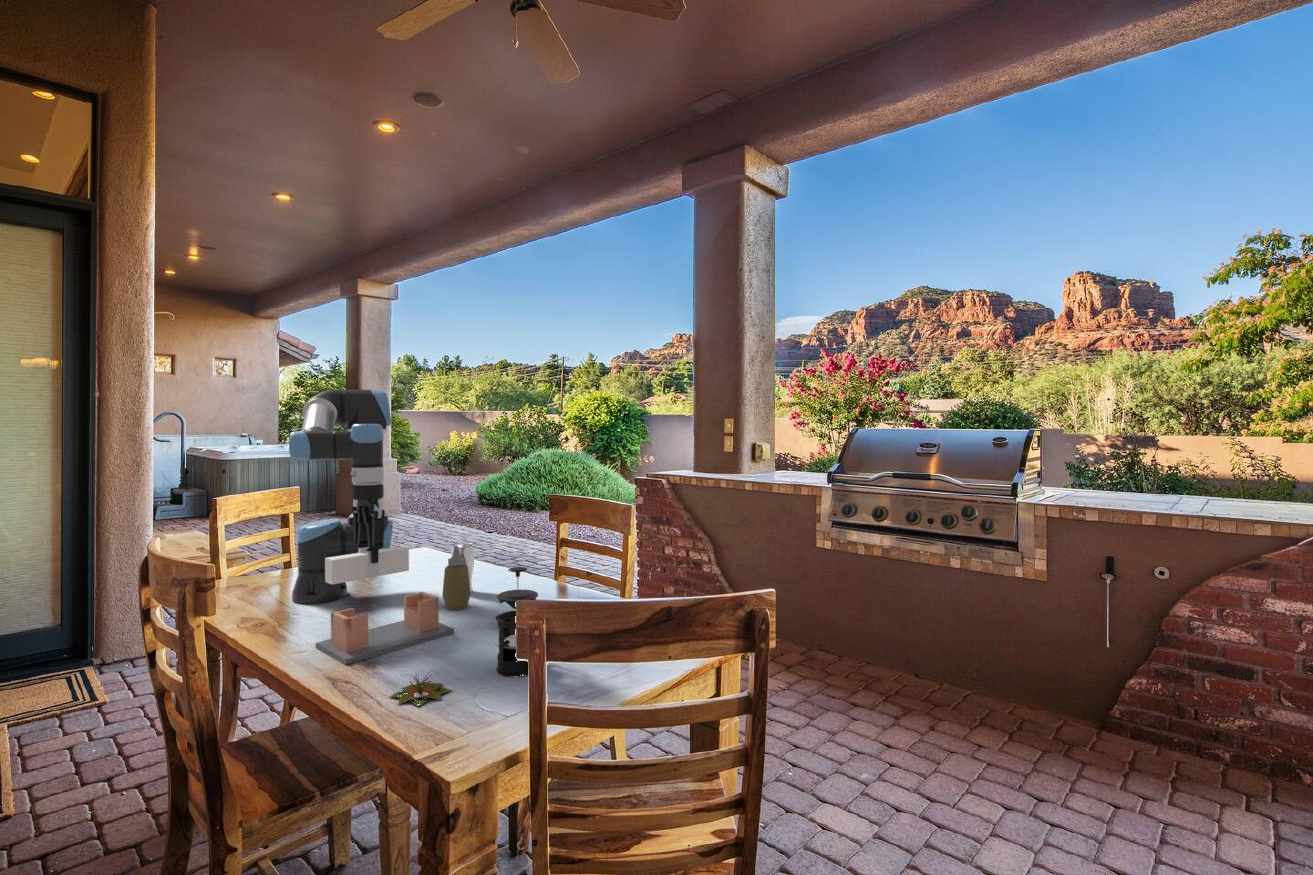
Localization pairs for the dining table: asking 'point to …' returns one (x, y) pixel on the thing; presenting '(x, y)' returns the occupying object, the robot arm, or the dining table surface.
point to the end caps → (383, 630)
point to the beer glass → (467, 558)
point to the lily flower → (421, 691)
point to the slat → (365, 565)
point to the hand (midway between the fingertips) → (368, 573)
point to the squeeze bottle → (456, 582)
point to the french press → (507, 641)
